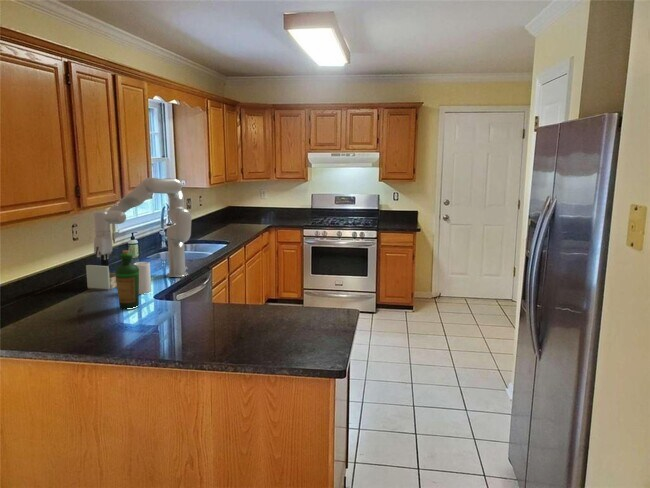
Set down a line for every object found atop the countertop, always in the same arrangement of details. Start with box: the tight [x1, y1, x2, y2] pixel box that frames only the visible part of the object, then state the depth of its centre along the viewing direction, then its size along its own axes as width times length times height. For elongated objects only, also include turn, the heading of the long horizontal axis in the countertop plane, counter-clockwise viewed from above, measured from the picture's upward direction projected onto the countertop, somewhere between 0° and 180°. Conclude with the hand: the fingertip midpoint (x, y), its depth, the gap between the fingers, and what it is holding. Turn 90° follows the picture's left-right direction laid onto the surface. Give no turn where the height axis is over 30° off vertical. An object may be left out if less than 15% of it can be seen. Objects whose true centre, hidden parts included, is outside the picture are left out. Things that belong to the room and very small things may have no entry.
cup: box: [133, 261, 152, 295], centre depth 246 cm, size 8×8×16 cm
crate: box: [109, 272, 117, 290], centre depth 256 cm, size 12×13×6 cm
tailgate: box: [85, 264, 111, 291], centre depth 248 cm, size 1×13×14 cm, turn 80°
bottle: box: [114, 249, 140, 310], centre depth 219 cm, size 11×11×28 cm
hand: (104, 266), depth 254 cm, fingers closed
